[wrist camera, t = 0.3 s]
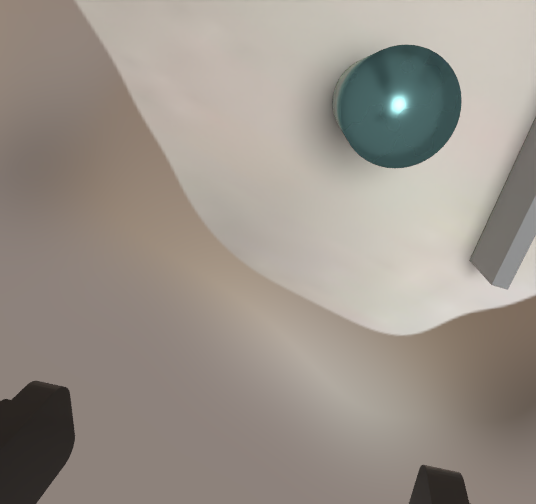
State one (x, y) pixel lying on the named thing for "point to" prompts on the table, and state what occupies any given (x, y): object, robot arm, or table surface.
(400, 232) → the table surface
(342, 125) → the tin
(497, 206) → the low wall
